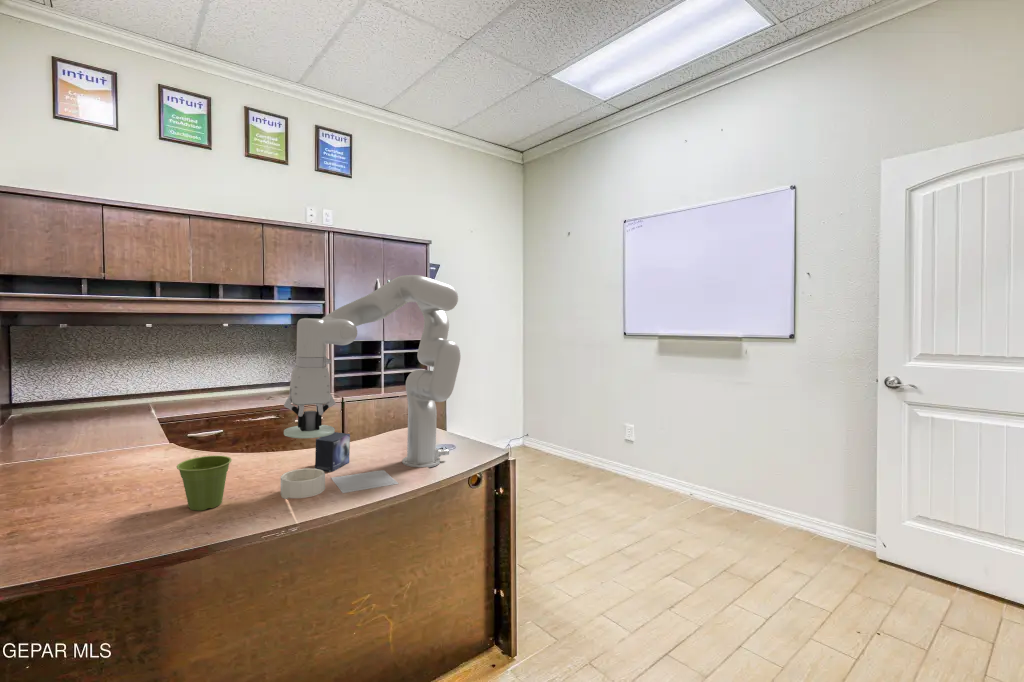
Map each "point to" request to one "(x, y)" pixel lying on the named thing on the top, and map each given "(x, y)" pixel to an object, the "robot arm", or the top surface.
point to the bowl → (302, 483)
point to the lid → (309, 428)
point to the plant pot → (204, 480)
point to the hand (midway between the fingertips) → (309, 428)
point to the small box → (332, 451)
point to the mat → (363, 481)
